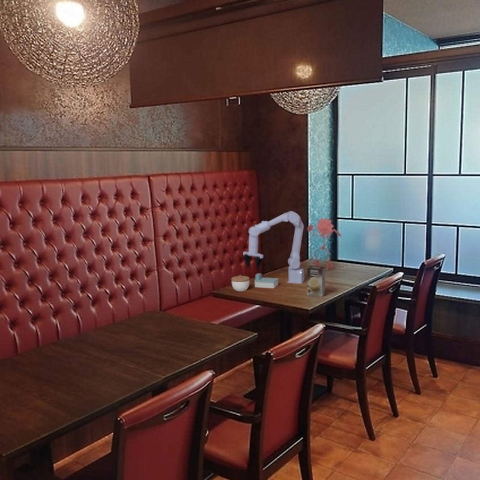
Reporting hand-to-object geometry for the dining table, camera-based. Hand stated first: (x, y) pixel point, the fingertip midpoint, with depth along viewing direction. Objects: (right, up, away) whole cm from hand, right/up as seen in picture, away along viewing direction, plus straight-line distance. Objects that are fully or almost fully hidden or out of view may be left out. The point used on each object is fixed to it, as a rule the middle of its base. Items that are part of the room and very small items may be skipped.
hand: (252, 268), depth 324 cm
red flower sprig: (+51, -2, +40) cm, 65 cm away
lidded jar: (-7, -13, -11) cm, 19 cm away
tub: (+8, -11, -5) cm, 15 cm away
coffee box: (+35, -14, -26) cm, 46 cm away
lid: (+8, -8, -6) cm, 13 cm away
